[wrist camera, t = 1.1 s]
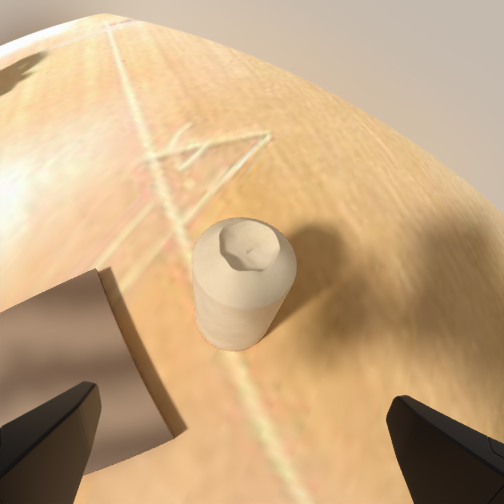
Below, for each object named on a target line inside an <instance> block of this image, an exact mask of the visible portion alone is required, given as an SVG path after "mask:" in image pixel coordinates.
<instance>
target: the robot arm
mask: <svg viewBox="0 0 504 504" xmlns="http://www.w3.org/2000/svg"><path fill="white" fill-rule="evenodd" d="M101 409H102V404H101V398H100V393H99V387H98V385H97V384H96V383H94V382H89V381H83V382H81V383H79V384H77V385H75V386H74V387H72V388H70V389H68V390H66V391H65V392H63V393H61V394H59V395H57V396H56V397H54V398H52V399H50V400H48V401H47V402H45V403H43V404H41V405H39V406H38V407H36V408H34V409H32V410H30V411H28V412H26V413H25V414H23V415H21V416H19V417H17V418H15V419H14V420H12V421H10V422H8V423H6V424H4V425H2V426H1V428H0V504H73V503H74V500H75V497H76V494H77V491H78V488H79V485H80V482H81V479H82V476H83V474H84V471H85V468H86V465H87V463H88V460H89V457H90V454H91V451H92V447H93V443H94V439H95V434H96V430H97V426H98V422H99V418H100V414H101ZM386 422H387V426H388V430H389V433H390V437H391V440H392V444H393V448H394V451H395V455H396V458H397V461H398V464H399V466H400V469H401V471H402V474H403V476H404V479H405V481H406V484H407V487H408V489H409V492H410V495H411V497H412V500H413V502H414V504H504V444H503V443H501V442H499V441H497V440H494V439H492V438H490V437H487V436H486V435H484V434H482V433H480V432H478V431H476V430H474V429H472V428H470V427H468V426H466V425H464V424H462V423H460V422H458V421H456V420H454V419H452V418H450V417H448V416H446V415H444V414H442V413H440V412H438V411H436V410H434V409H432V408H430V407H428V406H427V405H425V404H423V403H421V402H419V401H417V400H415V399H413V398H411V397H410V396H407V395H402V396H397V397H395V398H394V399H393V402H392V404H391V406H390V409H389V411H388V413H387V417H386Z"/></svg>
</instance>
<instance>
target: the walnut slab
mask: <svg viewBox="0 0 504 504" xmlns="http://www.w3.org/2000/svg"><path fill="white" fill-rule="evenodd" d="M83 381H89V382H94V383H96V384H97V385H98V387H99V393H100V398H101V404H102V409H101V414H100V418H99V422H98V426H97V430H96V434H95V439H94V443H93V447H92V451H91V454H90V457H89V460H88V463H87V465H86V468H85V471H84V474H83V475H86V474H89V473H92V472H94V471H97V470H100V469H103V468H105V467H108V466H111V465H113V464H116V463H118V462H121V461H124V460H126V459H129V458H131V457H133V456H136V455H138V454H141V453H143V452H145V451H148V450H150V449H152V448H155V447H157V446H159V445H161V444H164V443H166V442H168V441H170V440H172V439H174V438H175V437H174V435H173V434H172V432H171V430H170V428H169V427H168V425H167V423H166V421H165V420H164V418H163V416H162V414H161V412H160V410H159V409H158V407H157V405H156V403H155V401H154V399H153V397H152V395H151V393H150V391H149V390H148V388H147V386H146V384H145V382H144V380H143V378H142V376H141V373H140V371H139V369H138V367H137V365H136V363H135V361H134V359H133V357H132V354H131V352H130V350H129V348H128V346H127V343H126V341H125V339H124V337H123V334H122V332H121V330H120V327H119V325H118V322H117V320H116V318H115V315H114V313H113V310H112V308H111V305H110V303H109V300H108V298H107V295H106V292H105V290H104V287H103V284H102V282H101V279H100V276H99V274H98V272H97V270H96V268H95V269H93V270H90V271H88V272H86V273H84V274H82V275H79V276H77V277H75V278H73V279H70V280H68V281H66V282H64V283H62V284H60V285H57V286H55V287H53V288H51V289H49V290H47V291H45V292H42V293H40V294H38V295H36V296H34V297H32V298H30V299H28V300H26V301H24V302H22V303H19V304H17V305H15V306H13V307H11V308H9V309H7V310H5V311H3V312H1V313H0V428H1V426H2V425H4V424H6V423H8V422H10V421H12V420H14V419H15V418H17V417H19V416H21V415H23V414H25V413H26V412H28V411H30V410H32V409H34V408H36V407H38V406H39V405H41V404H43V403H45V402H47V401H48V400H50V399H52V398H54V397H56V396H57V395H59V394H61V393H63V392H65V391H66V390H68V389H70V388H72V387H74V386H75V385H77V384H79V383H81V382H83Z"/></svg>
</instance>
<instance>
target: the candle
mask: <svg viewBox="0 0 504 504" xmlns="http://www.w3.org/2000/svg"><path fill="white" fill-rule="evenodd" d="M192 273H193V290H194V305H195V317H196V323H197V326H198V329H199V331H200V333H201V334H202V336H203V337H204V338H205V339H206V340H207V341H208V342H209V343H210V344H211V345H213V346H215V347H217V348H219V349H222V350H226V351H241V350H245V349H248V348H250V347H252V346H253V345H255V344H256V343H258V342H259V341H260V340H261V339H262V337H263V336H264V335H265V333H266V332H267V330H268V328H269V326H270V325H271V323H272V321H273V319H274V317H275V316H276V314H277V312H278V310H279V309H280V307H281V305H282V303H283V301H284V300H285V298H286V296H287V294H288V292H289V290H290V289H291V287H292V285H293V283H294V280H295V278H296V273H297V259H296V255H295V252H294V250H293V247H292V246H291V244H290V242H289V241H288V240H287V238H286V237H285V236H284V235H283V234H282V233H281V232H280V231H279V230H277V229H276V228H274V227H273V226H271V225H269V224H267V223H265V222H263V221H260V220H256V219H252V218H243V217H241V218H230V219H226V220H223V221H220V222H218V223H216V224H214V225H212V226H211V227H209V228H208V229H207V230H206V231H204V232H203V233H202V235H201V236H200V237H199V239H198V240H197V242H196V244H195V247H194V250H193V254H192Z"/></svg>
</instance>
